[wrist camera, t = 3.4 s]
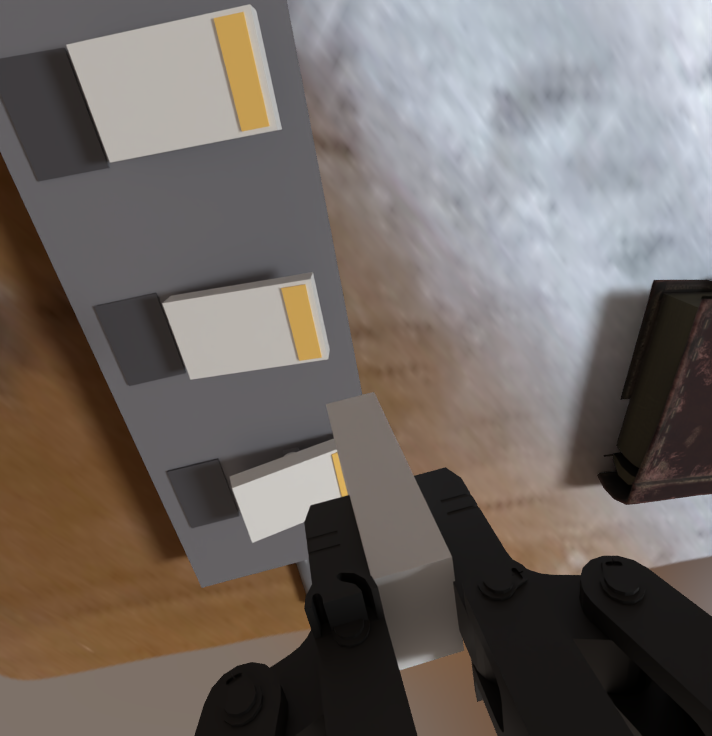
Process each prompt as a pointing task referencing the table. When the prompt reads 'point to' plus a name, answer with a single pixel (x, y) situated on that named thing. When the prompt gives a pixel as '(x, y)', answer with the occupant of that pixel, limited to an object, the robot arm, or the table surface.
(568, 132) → the table surface
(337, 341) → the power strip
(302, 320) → the rocker middle
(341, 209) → the table surface
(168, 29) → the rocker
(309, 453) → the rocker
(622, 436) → the diary
